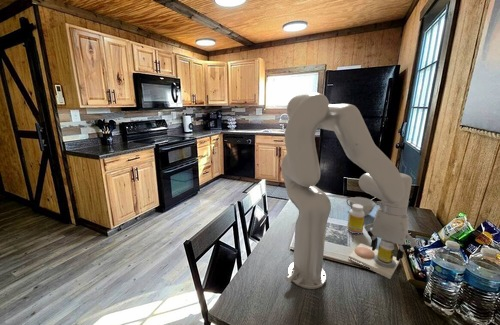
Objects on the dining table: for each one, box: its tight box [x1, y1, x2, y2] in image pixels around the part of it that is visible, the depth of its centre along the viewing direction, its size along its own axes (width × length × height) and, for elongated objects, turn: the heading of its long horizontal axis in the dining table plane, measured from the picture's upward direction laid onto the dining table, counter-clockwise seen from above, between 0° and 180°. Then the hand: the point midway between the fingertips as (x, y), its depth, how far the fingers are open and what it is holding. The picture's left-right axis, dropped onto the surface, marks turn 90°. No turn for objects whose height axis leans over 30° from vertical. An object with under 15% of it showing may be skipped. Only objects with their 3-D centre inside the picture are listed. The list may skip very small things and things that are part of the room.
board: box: [348, 242, 401, 280], centre depth 83 cm, size 12×14×2 cm
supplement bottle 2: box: [377, 238, 395, 265], centre depth 80 cm, size 5×5×8 cm
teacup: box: [345, 196, 376, 217], centre depth 122 cm, size 15×12×8 cm
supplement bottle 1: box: [346, 204, 366, 235], centre depth 103 cm, size 7×7×13 cm
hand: (385, 253), depth 80 cm, fingers open, 7 cm apart
